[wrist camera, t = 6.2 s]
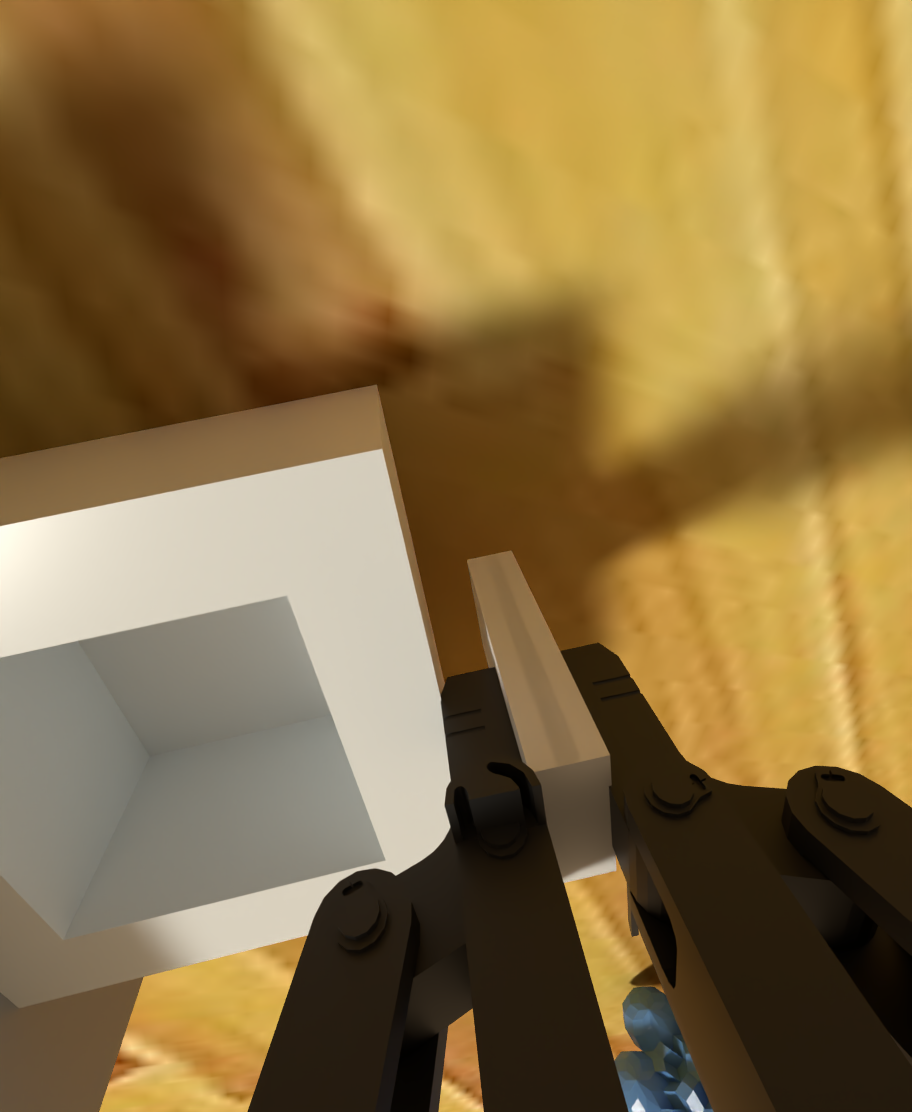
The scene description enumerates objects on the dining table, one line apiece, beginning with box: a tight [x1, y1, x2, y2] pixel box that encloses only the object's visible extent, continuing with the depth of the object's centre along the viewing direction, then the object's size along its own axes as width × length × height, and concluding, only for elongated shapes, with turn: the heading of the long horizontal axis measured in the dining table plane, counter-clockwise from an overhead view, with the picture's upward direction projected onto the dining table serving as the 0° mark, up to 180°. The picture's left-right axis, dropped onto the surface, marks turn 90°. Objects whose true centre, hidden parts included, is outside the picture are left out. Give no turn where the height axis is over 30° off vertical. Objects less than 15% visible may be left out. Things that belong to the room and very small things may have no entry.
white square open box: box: [0, 385, 451, 1008], centre depth 12 cm, size 11×11×6 cm
